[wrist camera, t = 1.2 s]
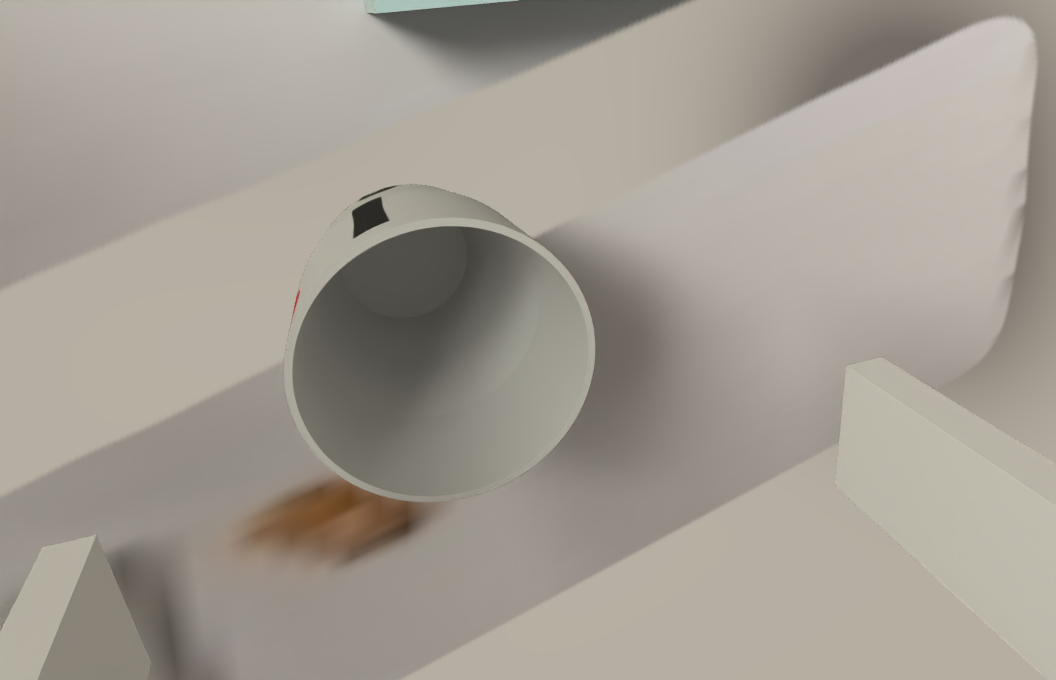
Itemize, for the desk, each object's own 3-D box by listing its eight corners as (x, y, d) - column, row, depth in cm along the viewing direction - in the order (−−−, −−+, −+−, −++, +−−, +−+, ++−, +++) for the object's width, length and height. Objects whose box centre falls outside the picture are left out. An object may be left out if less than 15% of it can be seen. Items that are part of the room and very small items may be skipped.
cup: (361, 103, 26) (387, 153, 17) (548, 218, 29) (652, 310, 20) (252, 299, 28) (225, 437, 19) (441, 387, 31) (493, 539, 22)
